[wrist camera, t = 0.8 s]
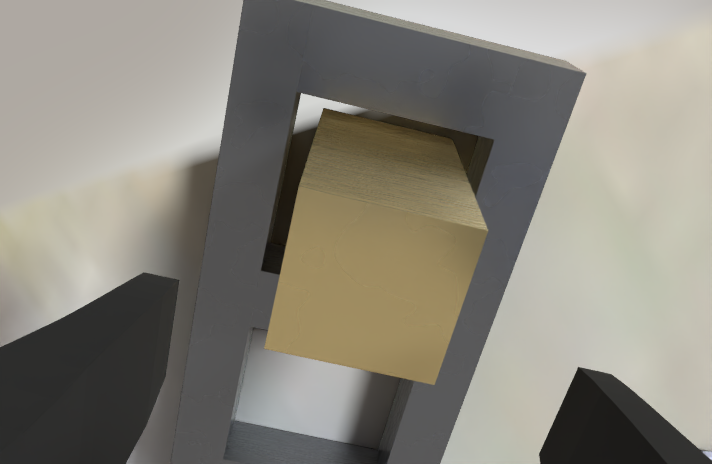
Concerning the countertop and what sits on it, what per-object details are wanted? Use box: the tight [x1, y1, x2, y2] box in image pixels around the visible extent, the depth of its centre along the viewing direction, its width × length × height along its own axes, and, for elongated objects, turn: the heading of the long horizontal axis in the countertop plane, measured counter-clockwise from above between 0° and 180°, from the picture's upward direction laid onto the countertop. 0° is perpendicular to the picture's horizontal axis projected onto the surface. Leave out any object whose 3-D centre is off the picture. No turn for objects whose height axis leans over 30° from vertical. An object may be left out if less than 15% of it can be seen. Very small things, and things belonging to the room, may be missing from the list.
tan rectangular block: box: [264, 108, 488, 385], centre depth 17 cm, size 4×4×7 cm
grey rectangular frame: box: [170, 0, 586, 464], centre depth 23 cm, size 9×25×2 cm, turn 167°
